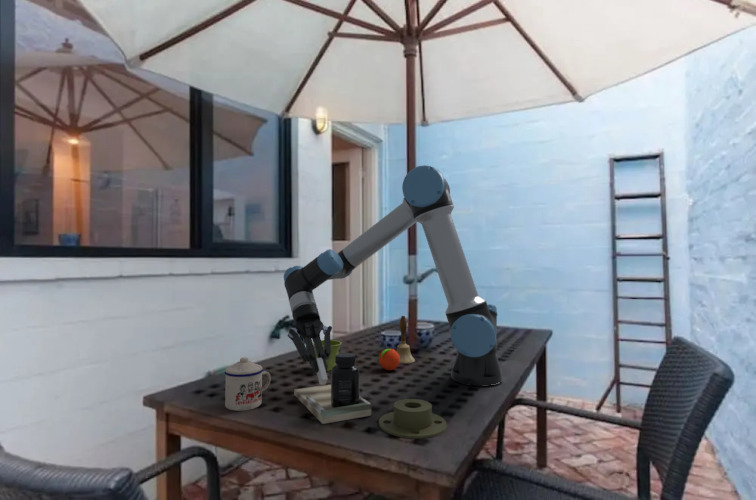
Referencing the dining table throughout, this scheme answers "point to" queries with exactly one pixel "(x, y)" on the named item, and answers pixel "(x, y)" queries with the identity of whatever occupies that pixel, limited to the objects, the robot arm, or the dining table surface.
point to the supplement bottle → (345, 381)
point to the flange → (412, 420)
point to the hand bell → (404, 344)
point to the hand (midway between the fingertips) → (323, 382)
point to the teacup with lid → (244, 385)
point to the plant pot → (334, 350)
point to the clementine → (389, 359)
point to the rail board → (322, 409)
